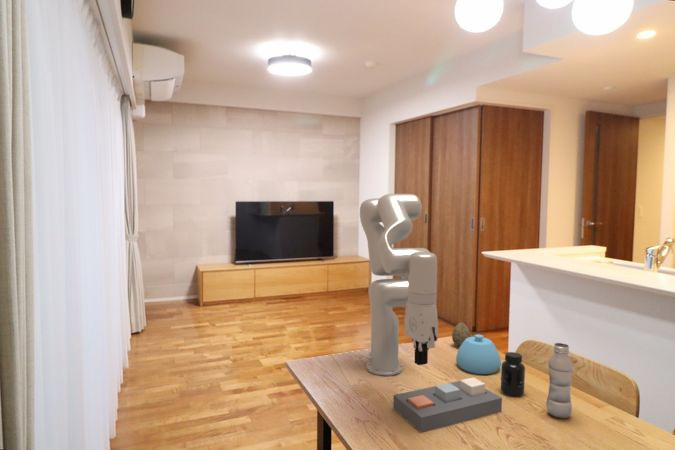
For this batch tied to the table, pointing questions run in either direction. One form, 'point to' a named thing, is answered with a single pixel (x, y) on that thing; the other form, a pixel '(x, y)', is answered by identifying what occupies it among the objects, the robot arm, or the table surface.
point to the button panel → (445, 408)
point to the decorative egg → (460, 334)
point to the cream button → (472, 387)
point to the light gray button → (447, 392)
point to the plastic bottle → (560, 382)
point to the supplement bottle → (513, 375)
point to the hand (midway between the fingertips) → (420, 363)
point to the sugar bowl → (478, 355)
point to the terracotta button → (420, 402)
